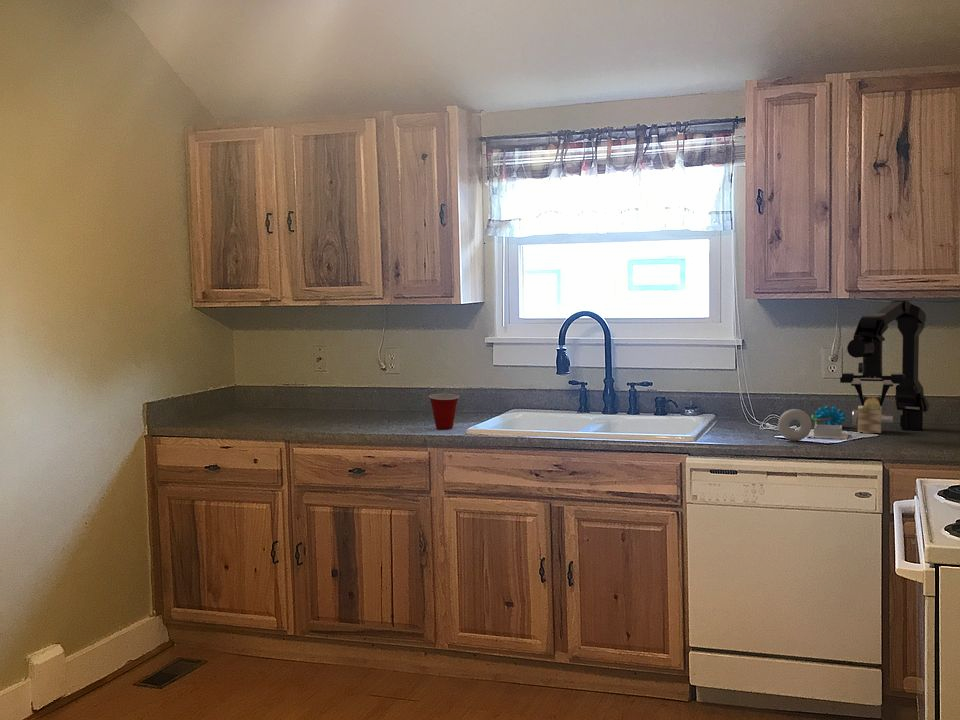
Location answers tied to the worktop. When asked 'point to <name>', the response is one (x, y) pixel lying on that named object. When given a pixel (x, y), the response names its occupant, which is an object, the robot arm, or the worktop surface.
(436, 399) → the plastic cup
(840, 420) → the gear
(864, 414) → the bearing block
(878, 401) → the cylinder
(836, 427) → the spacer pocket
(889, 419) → the shaft
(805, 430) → the donut
